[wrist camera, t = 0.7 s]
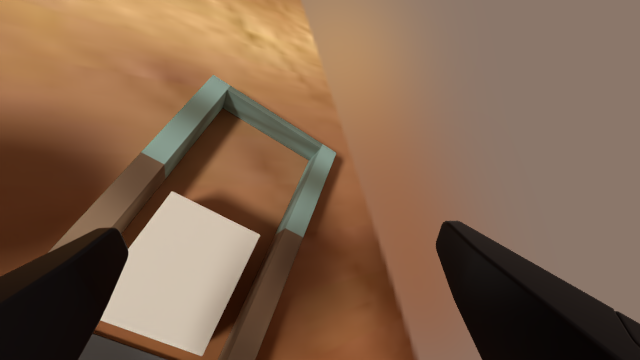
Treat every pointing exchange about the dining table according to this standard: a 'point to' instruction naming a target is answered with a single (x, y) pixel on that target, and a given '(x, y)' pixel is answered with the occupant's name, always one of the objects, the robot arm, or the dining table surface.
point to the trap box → (157, 163)
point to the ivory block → (180, 275)
